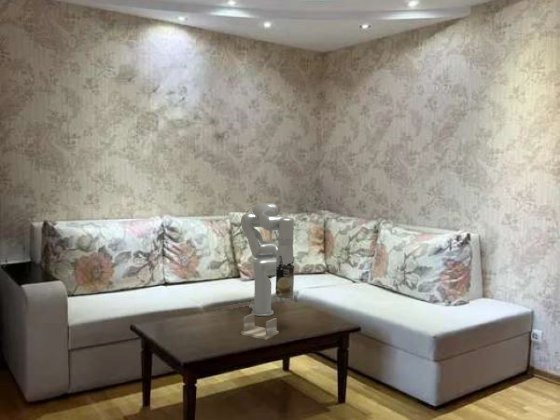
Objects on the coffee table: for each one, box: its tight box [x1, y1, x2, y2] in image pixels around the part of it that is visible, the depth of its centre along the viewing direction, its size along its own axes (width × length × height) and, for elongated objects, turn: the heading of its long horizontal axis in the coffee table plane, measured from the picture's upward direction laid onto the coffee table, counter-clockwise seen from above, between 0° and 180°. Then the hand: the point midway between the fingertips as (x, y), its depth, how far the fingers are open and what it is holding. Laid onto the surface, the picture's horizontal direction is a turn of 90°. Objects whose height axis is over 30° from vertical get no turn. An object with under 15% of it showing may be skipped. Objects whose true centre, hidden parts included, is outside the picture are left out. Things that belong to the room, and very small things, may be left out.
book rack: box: [240, 313, 280, 341], centre depth 252 cm, size 15×12×8 cm
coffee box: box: [274, 264, 295, 299], centre depth 261 cm, size 9×6×16 cm
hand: (284, 275), depth 261 cm, fingers closed on coffee box, 8 cm apart
